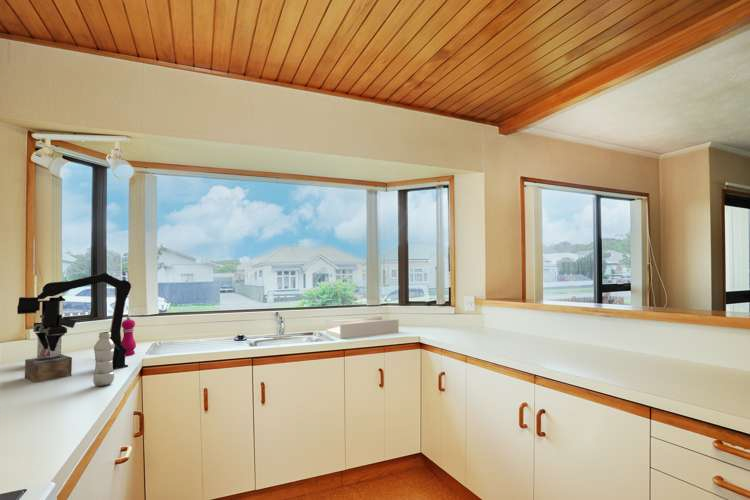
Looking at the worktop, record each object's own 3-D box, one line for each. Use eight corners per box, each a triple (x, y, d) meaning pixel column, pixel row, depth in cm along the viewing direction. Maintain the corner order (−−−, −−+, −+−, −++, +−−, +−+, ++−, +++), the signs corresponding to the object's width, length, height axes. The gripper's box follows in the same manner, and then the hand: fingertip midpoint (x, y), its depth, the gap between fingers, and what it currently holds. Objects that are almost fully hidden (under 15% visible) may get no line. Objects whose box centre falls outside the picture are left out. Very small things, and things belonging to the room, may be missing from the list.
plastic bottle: (118, 383, 149) (119, 331, 150) (100, 388, 142) (102, 334, 143) (106, 382, 151) (107, 330, 152) (88, 387, 144) (90, 333, 145)
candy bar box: (35, 364, 181) (37, 329, 182) (48, 362, 186) (49, 327, 187) (48, 366, 177) (50, 330, 178) (61, 364, 181) (62, 329, 182)
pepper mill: (127, 356, 196) (128, 317, 198) (115, 356, 198) (117, 317, 199) (139, 353, 203) (140, 315, 205) (127, 353, 205) (128, 315, 206)
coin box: (60, 371, 167) (61, 354, 168) (71, 375, 161) (71, 357, 161) (24, 378, 157) (25, 359, 158) (34, 382, 151) (35, 363, 151)
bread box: (340, 339, 244) (340, 324, 244) (326, 334, 263) (326, 320, 263) (398, 333, 267) (398, 319, 267) (381, 329, 286) (381, 316, 286)
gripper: (82, 311, 162) (81, 349, 161) (65, 309, 172) (64, 344, 172) (49, 314, 153) (47, 353, 152) (33, 311, 163) (32, 348, 162)
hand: (49, 350), depth 160 cm, fingers open, 8 cm apart
